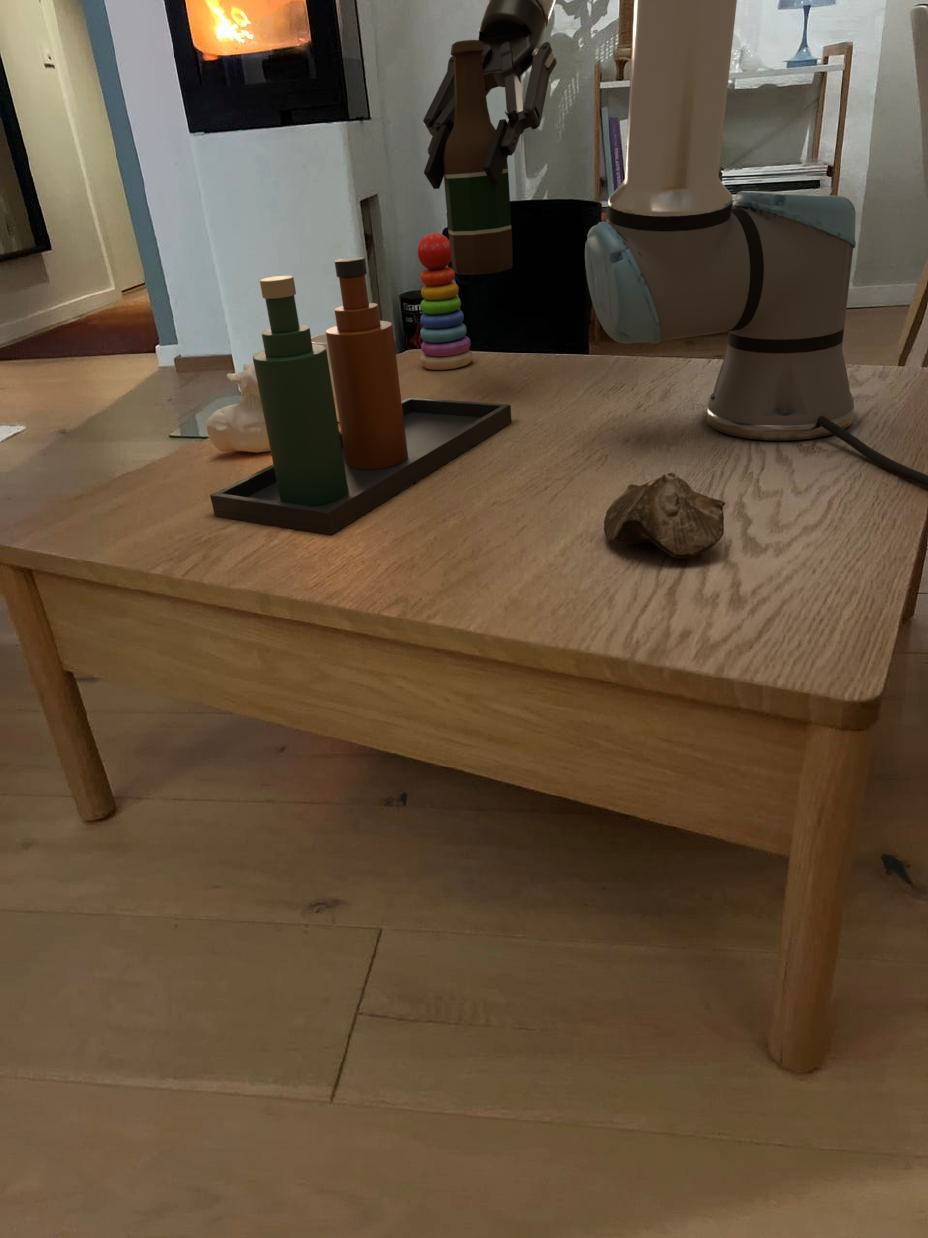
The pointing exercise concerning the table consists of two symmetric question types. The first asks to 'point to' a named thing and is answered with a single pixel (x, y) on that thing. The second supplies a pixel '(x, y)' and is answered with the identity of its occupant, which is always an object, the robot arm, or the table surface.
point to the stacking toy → (441, 308)
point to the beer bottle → (474, 175)
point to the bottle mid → (365, 375)
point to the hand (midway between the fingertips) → (460, 178)
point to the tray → (430, 444)
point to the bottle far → (298, 403)
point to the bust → (241, 418)
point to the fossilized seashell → (666, 517)
